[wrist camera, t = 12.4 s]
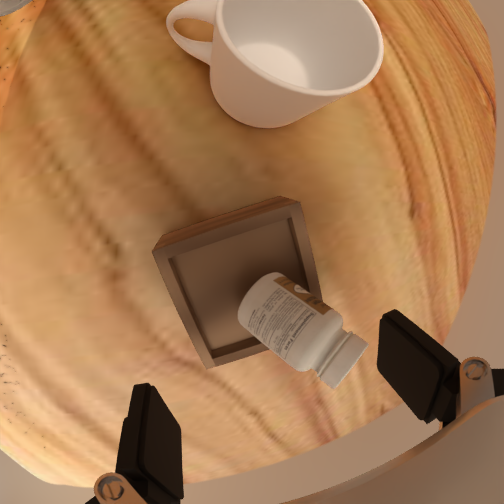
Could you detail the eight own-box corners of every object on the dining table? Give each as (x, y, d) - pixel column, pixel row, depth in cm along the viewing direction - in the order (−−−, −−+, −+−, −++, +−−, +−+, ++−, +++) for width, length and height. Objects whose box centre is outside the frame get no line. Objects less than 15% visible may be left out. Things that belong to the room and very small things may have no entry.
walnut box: (163, 234, 22) (151, 251, 17) (279, 195, 23) (299, 201, 18) (204, 334, 25) (206, 369, 20) (305, 299, 26) (327, 326, 21)
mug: (195, 17, 17) (196, -64, 7) (324, 64, 20) (393, 13, 9) (153, 98, 18) (115, 40, 8) (293, 146, 21) (364, 127, 11)
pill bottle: (286, 284, 21) (370, 343, 17) (248, 329, 20) (330, 395, 16) (272, 258, 17) (378, 330, 13) (225, 313, 16) (327, 396, 12)
